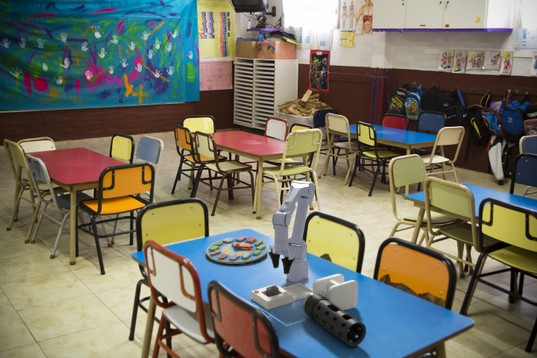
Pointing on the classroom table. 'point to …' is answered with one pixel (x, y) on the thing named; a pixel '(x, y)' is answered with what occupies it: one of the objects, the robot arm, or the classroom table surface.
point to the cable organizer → (337, 290)
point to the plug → (272, 291)
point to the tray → (298, 291)
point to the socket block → (271, 298)
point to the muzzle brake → (334, 319)
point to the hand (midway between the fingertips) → (281, 270)
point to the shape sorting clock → (237, 250)
